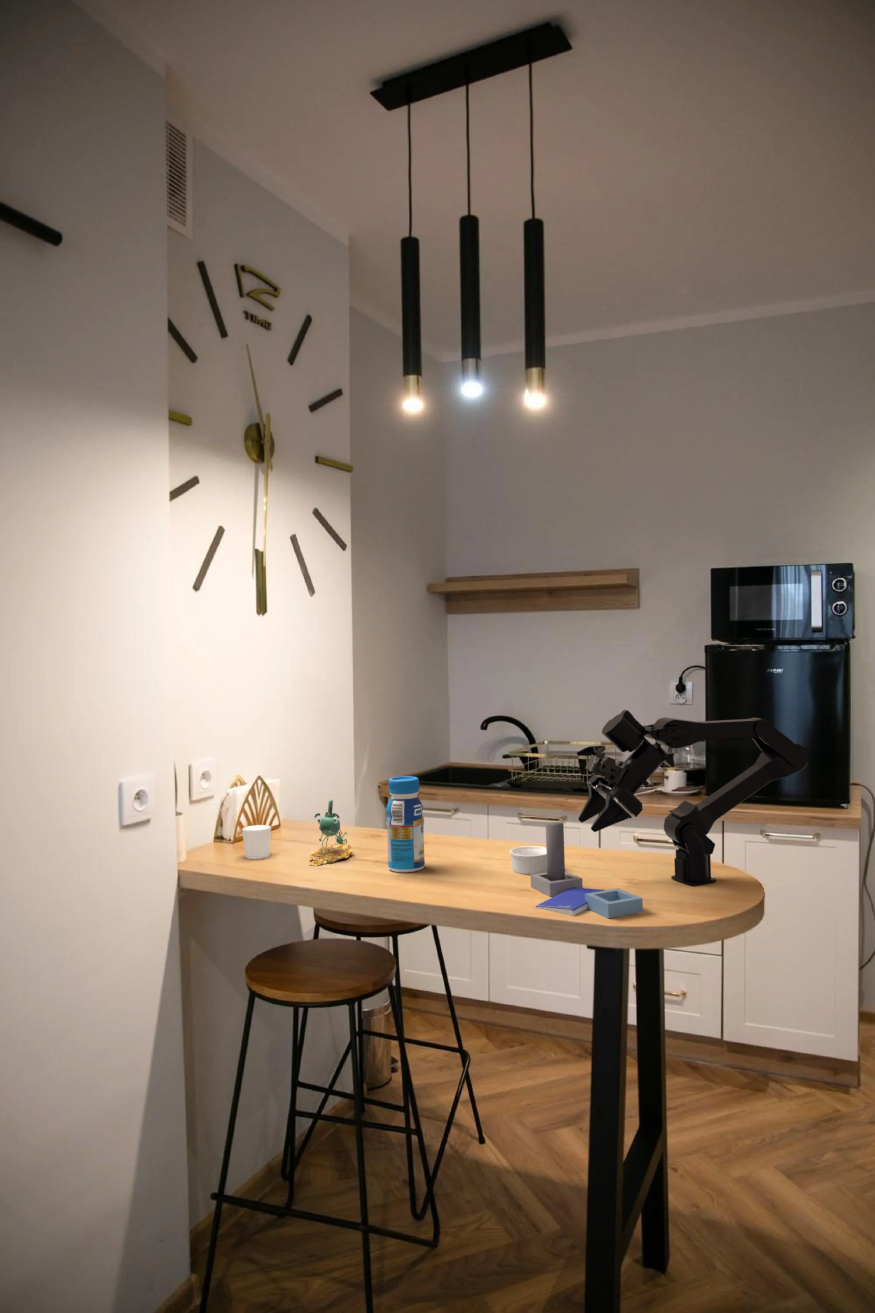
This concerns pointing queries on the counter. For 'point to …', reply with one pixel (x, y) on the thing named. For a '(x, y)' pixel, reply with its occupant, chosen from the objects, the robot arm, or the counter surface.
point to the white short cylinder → (257, 841)
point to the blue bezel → (614, 903)
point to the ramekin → (529, 859)
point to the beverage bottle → (405, 825)
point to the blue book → (568, 901)
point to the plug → (555, 851)
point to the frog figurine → (328, 828)
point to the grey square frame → (555, 883)
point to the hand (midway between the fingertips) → (585, 825)
